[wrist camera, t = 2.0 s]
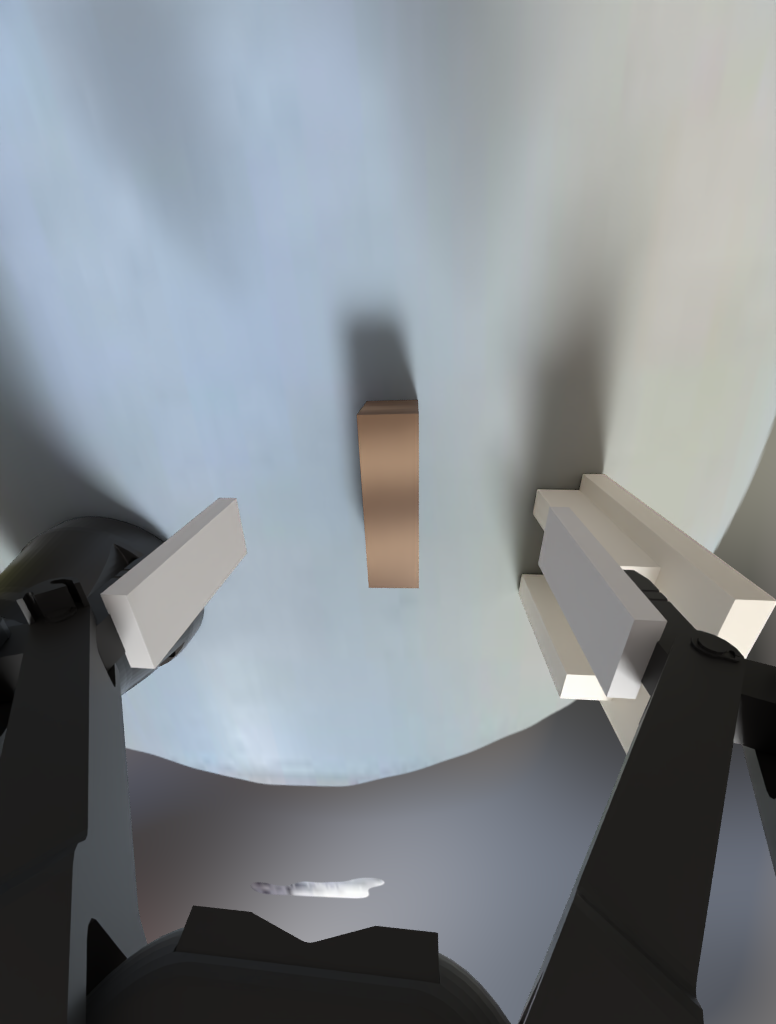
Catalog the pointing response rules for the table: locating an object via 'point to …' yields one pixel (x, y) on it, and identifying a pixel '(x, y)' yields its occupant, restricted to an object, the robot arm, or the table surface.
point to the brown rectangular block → (390, 491)
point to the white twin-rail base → (660, 558)
